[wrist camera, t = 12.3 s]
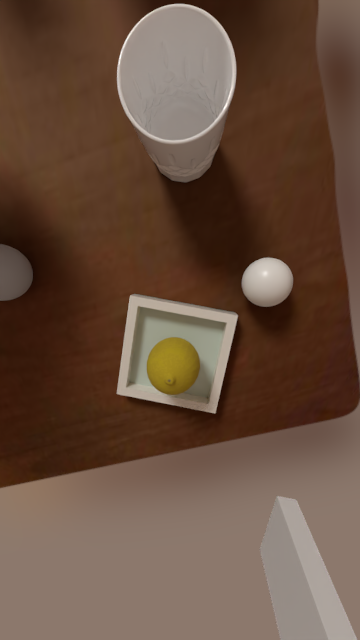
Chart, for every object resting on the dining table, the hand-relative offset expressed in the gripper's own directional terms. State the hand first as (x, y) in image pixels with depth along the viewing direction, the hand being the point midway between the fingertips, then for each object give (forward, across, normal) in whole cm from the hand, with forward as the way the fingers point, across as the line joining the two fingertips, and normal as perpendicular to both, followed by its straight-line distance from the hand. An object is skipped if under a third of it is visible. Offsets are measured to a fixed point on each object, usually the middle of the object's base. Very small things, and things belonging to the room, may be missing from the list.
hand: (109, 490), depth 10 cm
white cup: (+21, -2, +21) cm, 30 cm away
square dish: (+21, +1, -1) cm, 21 cm away
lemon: (+21, +1, -1) cm, 21 cm away
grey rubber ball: (+21, -19, +5) cm, 29 cm away
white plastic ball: (+21, +9, +9) cm, 25 cm away
